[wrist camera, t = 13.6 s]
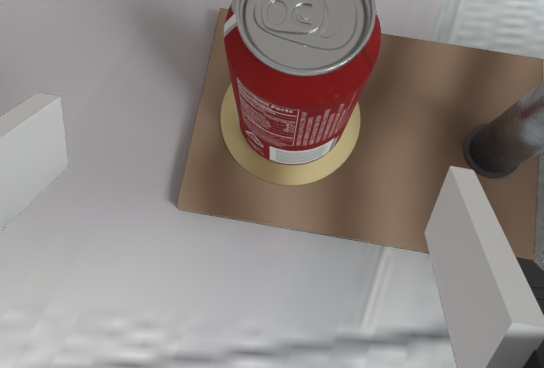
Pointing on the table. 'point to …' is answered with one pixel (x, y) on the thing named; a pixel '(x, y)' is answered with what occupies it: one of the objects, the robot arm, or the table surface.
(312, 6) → the soda can
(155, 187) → the table surface
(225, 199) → the hole plate
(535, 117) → the steel post
